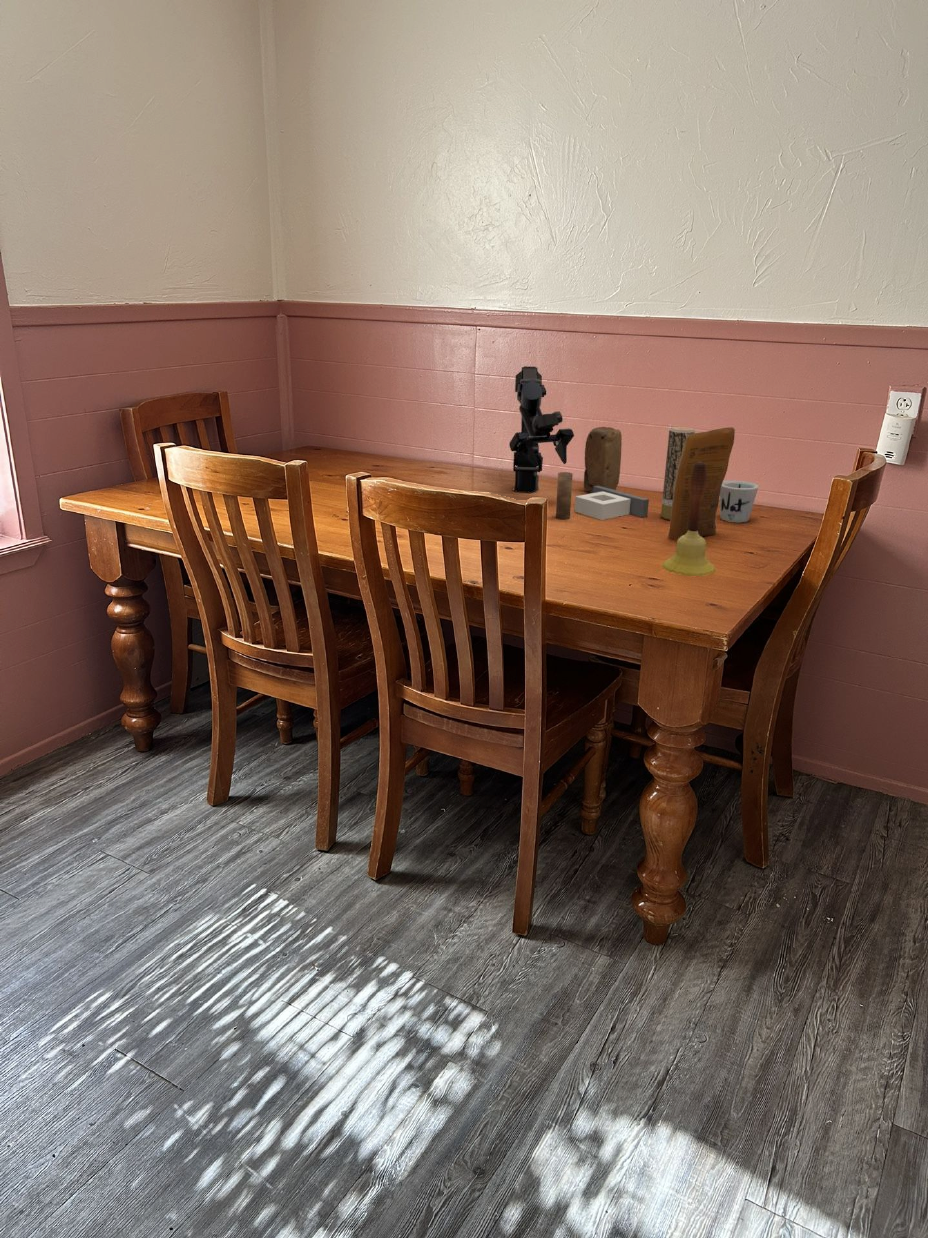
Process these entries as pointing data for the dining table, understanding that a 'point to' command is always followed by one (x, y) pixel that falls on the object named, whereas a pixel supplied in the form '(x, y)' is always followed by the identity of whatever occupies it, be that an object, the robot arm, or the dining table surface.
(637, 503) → the backstop wall
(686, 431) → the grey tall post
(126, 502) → the dining table surface
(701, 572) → the handbell
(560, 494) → the dowel
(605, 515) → the hole block
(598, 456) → the block
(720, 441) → the pancake mix bag
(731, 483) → the mug
